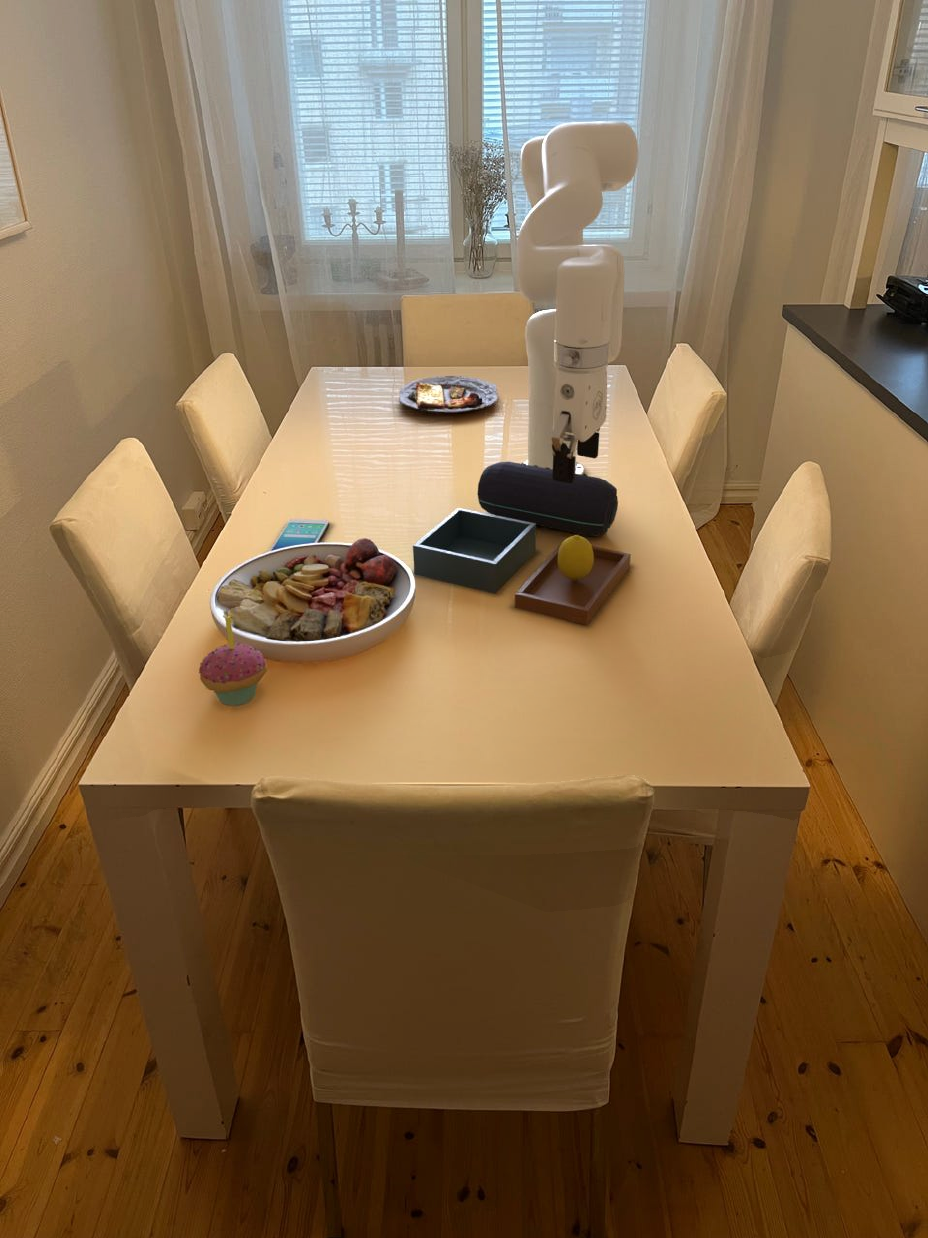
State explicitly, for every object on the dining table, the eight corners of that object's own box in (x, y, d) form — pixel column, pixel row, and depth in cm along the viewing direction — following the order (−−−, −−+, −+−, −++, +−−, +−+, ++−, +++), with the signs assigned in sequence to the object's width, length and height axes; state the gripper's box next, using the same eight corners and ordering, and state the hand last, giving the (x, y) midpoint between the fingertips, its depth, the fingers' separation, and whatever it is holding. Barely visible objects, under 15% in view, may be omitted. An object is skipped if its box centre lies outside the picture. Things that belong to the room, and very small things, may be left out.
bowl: (332, 699, 122) (326, 649, 118) (171, 636, 136) (161, 589, 132) (454, 598, 143) (453, 553, 139) (305, 553, 157) (300, 511, 153)
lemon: (590, 591, 143) (593, 544, 138) (554, 588, 144) (556, 542, 139) (593, 574, 147) (596, 528, 143) (558, 571, 148) (560, 526, 144)
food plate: (498, 419, 211) (498, 404, 209) (396, 420, 212) (395, 405, 210) (496, 384, 232) (496, 370, 231) (403, 386, 233) (403, 372, 231)
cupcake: (210, 679, 126) (195, 603, 120) (273, 675, 127) (261, 599, 121) (200, 717, 119) (184, 639, 113) (267, 713, 120) (254, 635, 113)
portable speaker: (624, 526, 164) (628, 473, 158) (604, 549, 156) (607, 495, 151) (497, 500, 174) (496, 449, 169) (472, 521, 167) (471, 469, 161)
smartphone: (330, 519, 166) (307, 559, 153) (330, 524, 166) (308, 563, 154) (289, 518, 167) (264, 557, 154) (290, 522, 167) (264, 561, 155)
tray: (563, 553, 156) (563, 539, 154) (629, 567, 151) (630, 553, 150) (514, 607, 141) (514, 593, 139) (586, 625, 136) (587, 610, 135)
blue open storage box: (458, 535, 162) (457, 507, 159) (535, 551, 156) (536, 523, 153) (414, 574, 150) (412, 545, 147) (495, 594, 144) (495, 564, 142)
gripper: (584, 375, 120) (578, 496, 130) (627, 339, 133) (619, 451, 142) (531, 368, 123) (528, 486, 132) (578, 333, 136) (573, 443, 145)
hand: (575, 468), depth 137 cm, fingers open, 9 cm apart
